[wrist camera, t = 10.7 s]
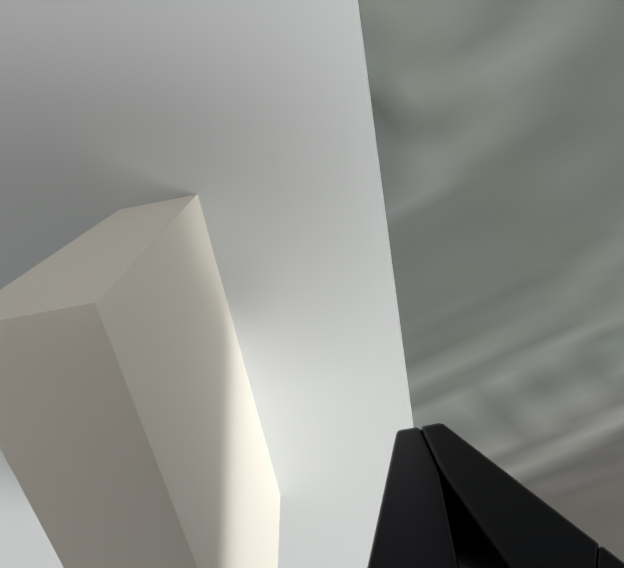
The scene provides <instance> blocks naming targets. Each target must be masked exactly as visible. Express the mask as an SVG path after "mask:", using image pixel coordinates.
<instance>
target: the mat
mask: <svg viewBox="0 0 624 568" xmlns="http://www.w3.org/2000/svg"><path fill="white" fill-rule="evenodd" d="M196 194H198V198H199V202H200V205H201V209H202V213H203V216H204V220H205V223H206V227H207V231H208V234H209V238H210V242H211V245H212V249H213V253H214V256H215V260H216V263H217V267H218V271H219V274H220V278H221V282H222V285H223V289H224V293H225V296H226V300H227V303H228V307H229V311H230V314H231V318H232V322H233V325H234V329H235V332H236V336H237V340H238V343H239V347H240V351H241V354H242V358H243V362H244V365H245V369H246V372H247V376H248V380H249V383H250V387H251V391H252V394H253V398H254V402H255V405H256V409H257V412H258V416H259V420H260V423H261V427H262V431H263V434H264V438H265V442H266V445H267V449H268V452H269V456H270V460H271V463H272V467H273V471H274V474H275V478H276V481H277V485H278V489H279V492H280V521H279V549H278V568H367V567H368V562H369V557H370V553H371V548H372V543H373V539H374V534H375V529H376V525H377V520H378V516H379V511H380V506H381V502H382V497H383V492H384V488H385V483H386V478H387V474H388V469H389V465H390V460H391V455H392V451H393V446H394V441H395V437H396V433H397V431H399V430H403V429H409V428H413V420H412V412H411V405H410V397H409V390H408V382H407V374H406V367H405V359H404V351H403V344H402V336H401V328H400V321H399V313H398V305H397V298H396V290H395V282H394V275H393V267H392V259H391V252H390V244H389V236H388V229H387V221H386V213H385V206H384V198H383V190H382V183H381V175H380V167H379V160H378V152H377V144H376V137H375V129H374V121H373V114H372V106H371V98H370V91H369V83H368V75H367V68H366V60H365V52H364V45H363V37H362V29H361V22H360V14H359V6H358V0H0V290H1V289H2V288H4V287H5V286H7V285H8V284H10V283H11V282H13V281H14V280H16V279H17V278H18V277H20V276H21V275H23V274H24V273H26V272H27V271H29V270H30V269H32V268H33V267H35V266H36V265H38V264H39V263H41V262H42V261H44V260H45V259H47V258H48V257H50V256H51V255H53V254H54V253H56V252H57V251H59V250H60V249H62V248H63V247H65V246H66V245H68V244H69V243H70V242H72V241H73V240H75V239H76V238H78V237H79V236H81V235H82V234H84V233H85V232H87V231H88V230H90V229H91V228H93V227H94V226H96V225H97V224H99V223H100V222H102V221H103V220H105V219H106V218H108V217H109V216H111V215H112V214H114V213H115V212H117V211H118V210H120V209H124V208H129V207H134V206H140V205H145V204H150V203H155V202H160V201H165V200H171V199H176V198H181V197H186V196H191V195H196ZM0 568H64V567H63V565H62V563H61V561H60V560H59V558H58V556H57V554H56V552H55V550H54V548H53V546H52V545H51V543H50V541H49V539H48V537H47V535H46V533H45V531H44V530H43V528H42V526H41V524H40V522H39V520H38V518H37V516H36V515H35V513H34V511H33V509H32V507H31V505H30V503H29V501H28V500H27V498H26V496H25V494H24V492H23V490H22V488H21V486H20V485H19V483H18V481H17V479H16V477H15V475H14V473H13V471H12V469H11V468H10V466H9V464H8V462H7V460H6V458H5V456H4V454H3V453H2V451H1V449H0Z"/></svg>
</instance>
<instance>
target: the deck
mask: <svg viewBox="0 0 624 568" xmlns="http://www.w3.org/2000/svg"><path fill="white" fill-rule="evenodd" d="M0 449H1V451H2V453H3V454H4V456H5V458H6V460H7V462H8V464H9V466H10V468H11V469H12V471H13V473H14V475H15V477H16V479H17V481H18V483H19V485H20V486H21V488H22V490H23V492H24V494H25V496H26V498H27V500H28V501H29V503H30V505H31V507H32V509H33V511H34V513H35V515H36V516H37V518H38V520H39V522H40V524H41V526H42V528H43V530H44V531H45V533H46V535H47V537H48V539H49V541H50V543H51V545H52V546H53V548H54V550H55V552H56V554H57V556H58V558H59V560H60V561H61V563H62V565H63V567H64V568H278V549H279V521H280V492H279V489H278V485H277V481H276V478H275V474H274V471H273V467H272V463H271V460H270V456H269V452H268V449H267V445H266V442H265V438H264V434H263V431H262V427H261V423H260V420H259V416H258V412H257V409H256V405H255V402H254V398H253V394H252V391H251V387H250V383H249V380H248V376H247V372H246V369H245V365H244V362H243V358H242V354H241V351H240V347H239V343H238V340H237V336H236V332H235V329H234V325H233V322H232V318H231V314H230V311H229V307H228V303H227V300H226V296H225V293H224V289H223V285H222V282H221V278H220V274H219V271H218V267H217V263H216V260H215V256H214V253H213V249H212V245H211V242H210V238H209V234H208V231H207V227H206V223H205V220H204V216H203V213H202V209H201V205H200V202H199V198H198V194H196V195H191V196H186V197H181V198H176V199H171V200H165V201H160V202H155V203H150V204H145V205H140V206H134V207H129V208H124V209H120V210H118V211H117V212H115V213H114V214H112V215H111V216H109V217H108V218H106V219H105V220H103V221H102V222H100V223H99V224H97V225H96V226H94V227H93V228H91V229H90V230H88V231H87V232H85V233H84V234H82V235H81V236H79V237H78V238H76V239H75V240H73V241H72V242H70V243H69V244H68V245H66V246H65V247H63V248H62V249H60V250H59V251H57V252H56V253H54V254H53V255H51V256H50V257H48V258H47V259H45V260H44V261H42V262H41V263H39V264H38V265H36V266H35V267H33V268H32V269H30V270H29V271H27V272H26V273H24V274H23V275H21V276H20V277H18V278H17V279H16V280H14V281H13V282H11V283H10V284H8V285H7V286H5V287H4V288H2V289H1V290H0Z"/></svg>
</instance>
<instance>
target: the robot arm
mask: <svg viewBox="0 0 624 568" xmlns="http://www.w3.org/2000/svg"><path fill="white" fill-rule="evenodd" d="M367 568H624V563H623V562H622V561H621V560H620V559H618V558H617V557H616V556H614V555H613V554H612V553H610V552H609V551H608V550H607V549H605V548H604V547H599V545H598V543H597V542H596V541H595V540H593V539H592V538H591V537H589V536H588V535H587V534H585V533H584V532H583V531H582V530H580V529H579V528H578V527H576V526H575V525H574V524H572V523H571V522H570V521H569V520H567V519H566V518H565V517H563V516H562V515H561V514H559V513H558V512H557V511H556V510H554V509H553V508H552V507H550V506H549V505H548V504H546V503H545V502H544V501H543V500H541V499H540V498H539V497H537V496H536V495H535V494H533V493H532V492H531V491H530V490H528V489H527V488H526V487H524V486H523V485H522V484H521V483H519V482H518V481H517V480H515V479H514V478H513V477H511V476H510V475H509V474H508V473H506V472H505V471H504V470H502V469H501V468H500V467H498V466H497V465H496V464H495V463H493V462H492V461H491V460H489V459H488V458H487V457H485V456H484V455H483V454H482V453H480V452H479V451H478V450H476V449H475V448H474V447H472V446H471V445H470V444H469V443H467V442H466V441H465V440H463V439H462V438H461V437H459V436H458V435H457V434H456V433H454V432H453V431H452V430H450V429H449V428H448V427H447V426H445V425H444V424H440V423H439V424H433V425H427V426H422V427H421V429H419V428H416V427H415V428H409V429H403V430H399V431H397V433H396V437H395V441H394V446H393V451H392V455H391V460H390V465H389V469H388V474H387V478H386V483H385V488H384V492H383V497H382V502H381V506H380V511H379V516H378V520H377V525H376V529H375V534H374V539H373V543H372V548H371V553H370V557H369V562H368V567H367Z"/></svg>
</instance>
